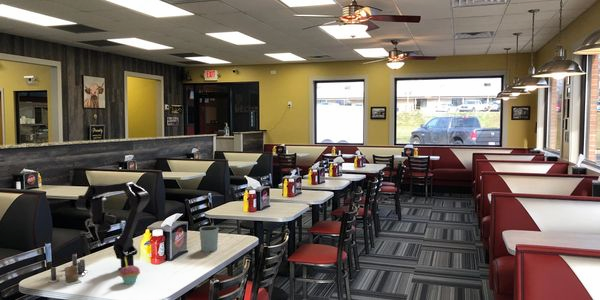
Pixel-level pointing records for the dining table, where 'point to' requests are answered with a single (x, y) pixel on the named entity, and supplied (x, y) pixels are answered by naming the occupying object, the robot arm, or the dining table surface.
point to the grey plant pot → (209, 238)
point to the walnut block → (71, 274)
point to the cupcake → (129, 273)
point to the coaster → (71, 283)
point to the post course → (79, 265)
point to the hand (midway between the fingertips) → (98, 242)
